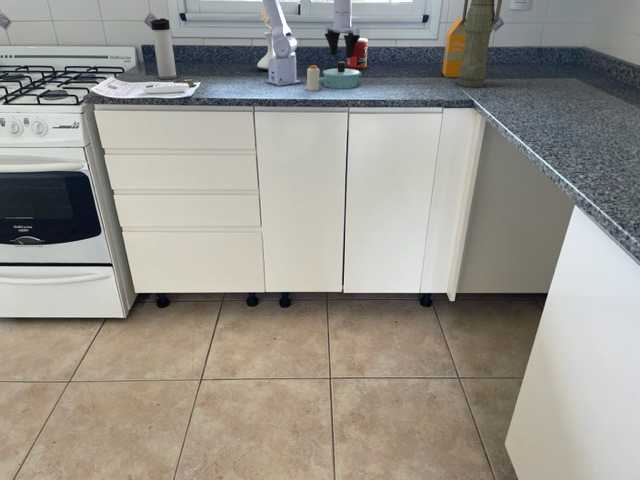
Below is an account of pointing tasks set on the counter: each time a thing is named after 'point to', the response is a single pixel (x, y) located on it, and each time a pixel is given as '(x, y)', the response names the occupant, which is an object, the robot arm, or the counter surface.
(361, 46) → the canned food
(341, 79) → the pot
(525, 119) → the counter surface
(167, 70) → the travel mug
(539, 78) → the counter surface
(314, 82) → the bottle
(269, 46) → the flower in vase
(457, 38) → the orange juice
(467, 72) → the thermos
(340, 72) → the lid
